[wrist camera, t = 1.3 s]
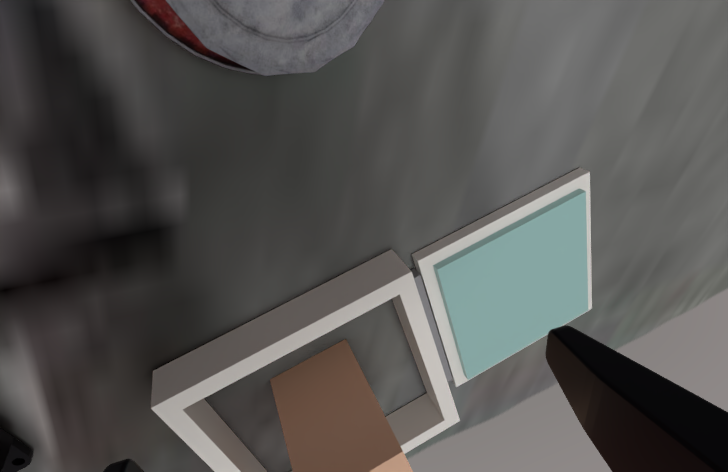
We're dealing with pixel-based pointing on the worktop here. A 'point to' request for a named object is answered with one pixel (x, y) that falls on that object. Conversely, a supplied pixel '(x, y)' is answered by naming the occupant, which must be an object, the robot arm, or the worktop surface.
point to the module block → (334, 417)
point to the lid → (508, 277)
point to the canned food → (262, 30)
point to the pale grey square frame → (287, 333)
